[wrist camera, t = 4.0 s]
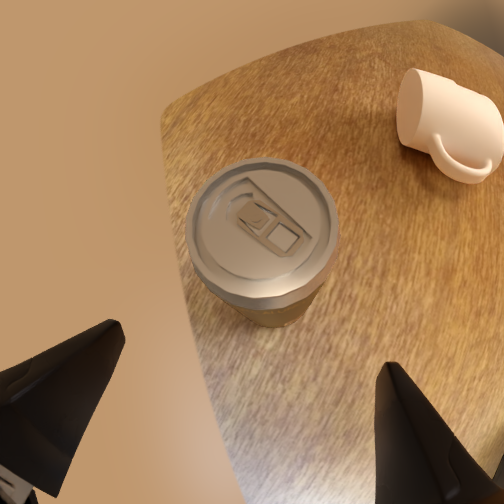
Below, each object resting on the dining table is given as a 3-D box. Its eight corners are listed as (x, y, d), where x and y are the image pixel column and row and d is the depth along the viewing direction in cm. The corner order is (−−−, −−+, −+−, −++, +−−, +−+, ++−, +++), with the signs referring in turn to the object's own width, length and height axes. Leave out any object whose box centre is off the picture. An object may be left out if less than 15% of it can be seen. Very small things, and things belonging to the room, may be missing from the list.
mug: (391, 104, 25) (407, 49, 17) (458, 125, 23) (483, 80, 16) (403, 190, 21) (439, 131, 14) (481, 211, 20) (525, 168, 12)
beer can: (326, 285, 20) (376, 208, 8) (279, 344, 19) (270, 344, 7) (270, 242, 21) (252, 130, 10) (222, 296, 20) (148, 233, 9)
